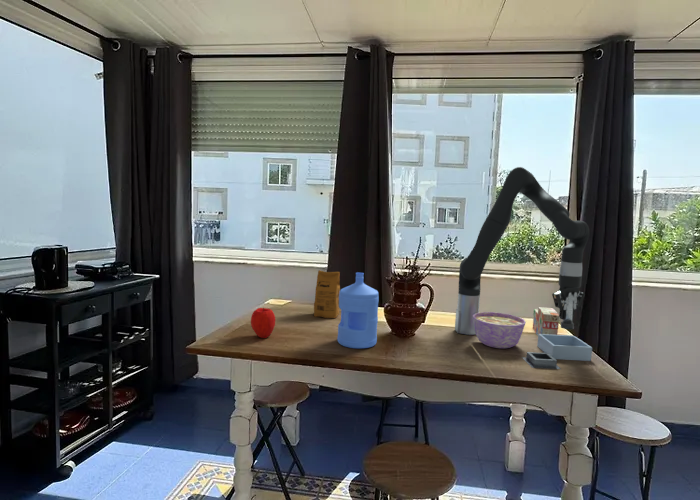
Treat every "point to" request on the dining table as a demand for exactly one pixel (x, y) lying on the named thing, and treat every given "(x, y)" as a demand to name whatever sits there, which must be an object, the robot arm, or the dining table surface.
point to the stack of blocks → (545, 321)
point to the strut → (568, 315)
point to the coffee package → (327, 295)
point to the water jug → (358, 315)
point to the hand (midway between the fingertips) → (566, 318)
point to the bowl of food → (498, 329)
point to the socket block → (541, 360)
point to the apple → (263, 322)
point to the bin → (564, 347)
